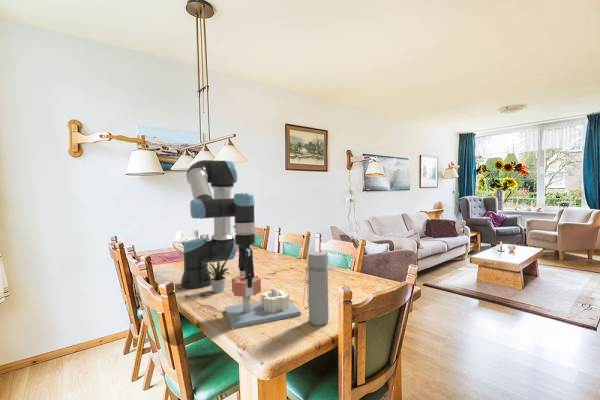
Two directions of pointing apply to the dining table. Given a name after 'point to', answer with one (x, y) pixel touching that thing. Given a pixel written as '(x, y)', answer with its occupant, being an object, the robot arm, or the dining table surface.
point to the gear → (239, 286)
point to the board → (262, 309)
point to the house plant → (218, 277)
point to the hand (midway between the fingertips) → (246, 291)
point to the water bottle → (317, 288)
